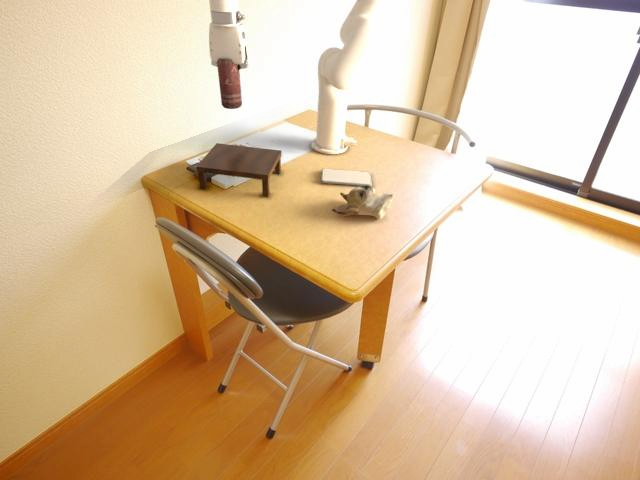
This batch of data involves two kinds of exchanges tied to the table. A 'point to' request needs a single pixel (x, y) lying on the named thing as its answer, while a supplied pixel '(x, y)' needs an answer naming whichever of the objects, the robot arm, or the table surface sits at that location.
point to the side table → (240, 164)
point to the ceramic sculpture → (365, 202)
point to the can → (229, 84)
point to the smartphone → (346, 177)
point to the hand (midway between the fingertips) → (231, 87)
